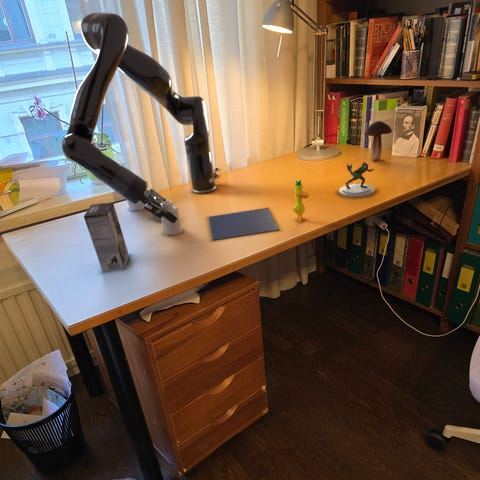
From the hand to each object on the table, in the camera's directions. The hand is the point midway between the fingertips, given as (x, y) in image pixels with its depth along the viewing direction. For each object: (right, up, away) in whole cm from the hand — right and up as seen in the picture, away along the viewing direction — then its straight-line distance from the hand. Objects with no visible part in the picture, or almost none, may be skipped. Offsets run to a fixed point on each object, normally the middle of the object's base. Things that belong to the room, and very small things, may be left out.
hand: (175, 217), depth 129 cm
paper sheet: (+21, -2, +2) cm, 21 cm away
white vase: (-1, -4, +2) cm, 5 cm away
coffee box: (-15, -17, -13) cm, 26 cm away
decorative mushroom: (+77, +35, +44) cm, 95 cm away
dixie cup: (-19, +10, +27) cm, 34 cm away
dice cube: (-7, +3, +15) cm, 17 cm away
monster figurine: (+61, +12, +14) cm, 63 cm away
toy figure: (+39, -2, -2) cm, 39 cm away
